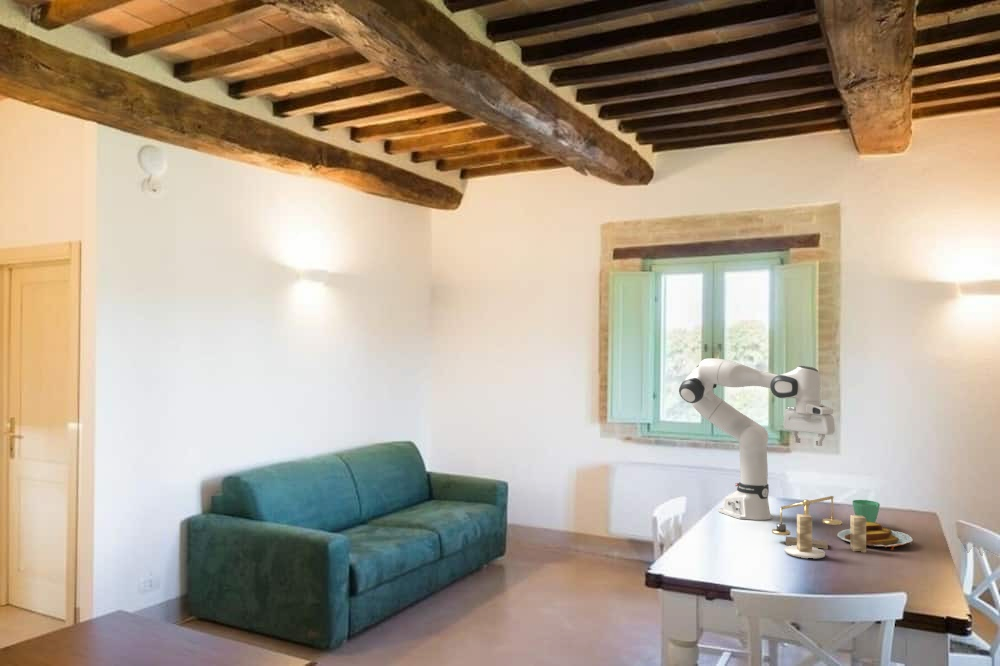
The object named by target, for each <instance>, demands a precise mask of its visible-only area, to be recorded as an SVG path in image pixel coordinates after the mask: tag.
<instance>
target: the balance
mask: <svg viewBox="0 0 1000 666" xmlns="http://www.w3.org/2000/svg"><path fill="white" fill-rule="evenodd" d="M827 500H828V501H829V500H831V502H830V503H831V510H830V511H831V514H830V515H831V517H830V518H823V519H822V523H823V524H826V525H831V526H841V525H843V521H842V520H841V519H835V518H834V495H830V496H825V497H820V498H816V499H812V500H809V499H804V500H803V501H802V502H797V503H793V504H789V505H787V504H786V505H783V506H780V523H776V528H773V529H772V530H771V533H772V534H773V535H777V536H785V546H790V545H797V536H790V535H791V533H792V532H791V530H788V529H787V524H785V523H783V510H786V509H790V508H795V507H800V506H803V514H805V515H810V509H809V508H810V507H809V506H810V505H811V504H814V503H815V504H816V503H819V502H824V501H827ZM828 544H829V543H828V540H824V539H823V540H822V539H815V538H812V547H816V548H824V549H823V550H827V549H828V548H829V545H828Z"/></svg>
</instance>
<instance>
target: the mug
mask: <svg viewBox="0 0 1000 666" xmlns="http://www.w3.org/2000/svg"><path fill="white" fill-rule="evenodd" d="M852 507H853V511H854V515H857V516H863V517H865V518H866V522H873V523H876V521H877V519H878V518H877V517H878V514H879V511H880V507H881V504H880V502H878V501H874V500H869V499H853V500H852Z"/></svg>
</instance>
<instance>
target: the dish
mask: <svg viewBox="0 0 1000 666" xmlns="http://www.w3.org/2000/svg"><path fill="white" fill-rule="evenodd" d="M784 553H785V554H787V555H790V556H792V557H796V558H800V557H801V559H808V558H813V559H822V558H824V557H826V552H825V551H824V549H818V548H814V547H812V552H800V551H799V550H798V549H797V545H793V546H790V545H786V546H785V547H784Z"/></svg>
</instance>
